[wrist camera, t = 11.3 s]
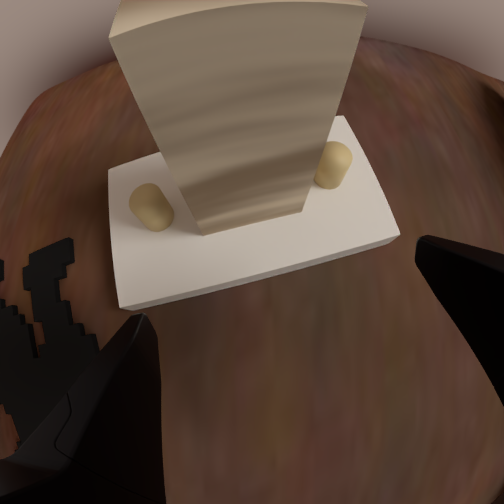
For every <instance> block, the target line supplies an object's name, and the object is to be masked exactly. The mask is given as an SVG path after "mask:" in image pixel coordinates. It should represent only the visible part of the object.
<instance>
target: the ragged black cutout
mask: <svg viewBox="0 0 504 504" xmlns="http://www.w3.org/2000/svg"><path fill="white" fill-rule="evenodd" d="M74 262H75V260H74V247H73V239H71V238H69V237H68V238H65V239H63V240H61V241H58V242H56V243H54V244H51V245H49V246H47V247H44V248H42V249H40V250H37V251H35V252H33V253H31V254H29V265H28V266H26V267H23V285H24V290H27V291H30V290H31V297H32V307H33V315H34V322H42V325H43V331H44V337H45V342H46V344H43V345H38V347H39V352H40V358H38V354H37V348H36V343H35V337H34V331H33V325H32V324H26V323H25V315H22V314H18V310H17V306H14V305H11V306H8V307H6V306H5V300H4V299H0V404H3V405H4V409H5V412H6V414H11V415H12V418H13V421H14V424H15V427H16V430H17V432H18V435H19V438H20V440H21V441H19V442H16V443H17V445H18V448H20V447H21V446H22V445H23V443H24V442H25V441H26V440H27V439H28V438H29V437H30V435H31V434H32V433H33V432H34V431H35V430H36V429H37V428H38V426H39V425H40V424H41V423H42V422H43V421H44V420H45V418H46V417H47V416H48V415H49V414H50V413H51V411H52V410H53V409H54V408H55V407H56V405H57V404H58V403H59V402H60V400H61V399H62V398H63V396H64V395H65V394H66V393H68V390H69V389H70V388H71V386H72V385H73V384H74V383H75V381H76V380H77V379H78V378H79V376H80V375H81V374H82V373H83V372H84V370H85V369H86V368H87V367H88V366H89V364H90V363H91V362H92V361H93V359H94V358H95V357H96V356H97V355H98V354H99V352H100V351H99V347H98V343H97V338H96V334H89V335H85V331H84V325H83V324H82V323H77V324H73V318H72V312H71V306H70V301H67V300H63V301H61V299H60V290H59V281H58V280H60V279H63V278H66V277H67V273H66V265H69V264H72V263H74ZM3 280H4V261H3V260H1V259H0V281H3ZM17 450H18V449H17ZM17 450H15V452H16V451H17Z"/></svg>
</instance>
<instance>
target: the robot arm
mask: <svg viewBox="0 0 504 504" xmlns="http://www.w3.org/2000/svg"><path fill="white" fill-rule="evenodd" d="M415 263H416V265H417V267H418V269H419V270H420V272H421V273H422V275H423V276H424V278H425V280H426V281H427V283H428V284H429V286H430V288H431V289H432V291H433V293H434V294H435V296H436V297H437V299H438V300H439V302H440V303H441V304H442V306H443V307H444V309H445V310H446V311H447V313H448V314H449V316H450V317H451V319H452V320H453V321H454V323H455V324H456V326H457V327H458V329H459V330H460V332H461V333H462V335H463V336H464V338H465V339H466V341H467V343H468V344H469V346H470V347H471V349H472V350H473V352H474V354H475V355H476V357H477V359H478V360H479V362H480V364H481V365H482V367H483V369H484V370H485V372H486V374H487V376H488V377H489V379H490V381H491V383H492V385H493V386H494V389H495V391H496V393H497V394H498V396H499V398H500V400H501V402H502V404H503V406H504V254H501V253H497V252H494V251H490V250H486V249H483V248H479V247H475V246H471V245H468V244H464V243H460V242H456V241H452V240H448V239H444V238H439V237H435V236H431V235H425V236H422V237H419V238H418V239H417V243H416V252H415ZM0 504H166V497H165V486H164V472H163V456H162V430H161V373H160V363H159V351H158V338H157V334H156V332H155V330H154V328H153V326H152V324H151V322H150V321H149V319H148V317H147V315H146V314H145V313H138V314H133V315H131V316H130V317H129V319H128V320H127V321H126V322H125V323H124V324H123V325H122V327H121V328H120V329H119V330H118V331H117V332H116V334H115V335H114V336H113V337H112V338H111V339H110V341H109V342H108V343H107V344H106V345H105V346H104V348H103V349H102V350H101V351H100V352H99V354H98V355H97V356H96V357H95V358H94V359H93V361H92V362H91V363H90V364H89V366H88V367H87V368H86V369H85V370H84V372H83V373H82V374H81V375H80V376H79V378H78V379H77V380H76V381H75V383H74V384H73V385H72V386H71V388H70V389H69V390H68V393H66V394H65V395H64V396H63V398H62V399H61V400H60V402H59V403H58V404H57V405H56V407H55V408H54V409H53V410H52V411H51V413H50V414H49V415H48V416H47V417H46V418H45V420H44V421H43V422H42V423H41V424H40V425H39V426H38V428H37V429H36V430H35V431H34V432H33V433H32V434H31V435H30V437H29V438H28V439H27V440H26V441H25V442H24V443H23V445H22V446H21V447H20V448H19V449H18V450H17V451H16V452H15V453H14V454H12V455H11V456H9V457H7V458H4V459H1V460H0ZM491 504H504V493H503V494H502V495H501V496H499V497H498V498H497V499H496V500H495V501H494V502H493V503H491Z"/></svg>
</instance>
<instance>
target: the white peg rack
mask: <svg viewBox="0 0 504 504" xmlns="http://www.w3.org/2000/svg"><path fill="white" fill-rule="evenodd" d="M108 194H109V218H110V234H111V246H112V256H113V265H114V274H115V281H116V288H117V295H118V302H119V308H122V309H127V310H132V311H134V310H138V309H143V308H147V307H151V306H156V305H160V304H164V303H168V302H173V301H177V300H181V299H185V298H189V297H194V296H198V295H202V294H206V293H210V292H214V291H218V290H222V289H226V288H230V287H234V286H238V285H242V284H245V283H249V282H253V281H257V280H261V279H265V278H268V277H272V276H276V275H280V274H283V273H287V272H291V271H294V270H298V269H302V268H305V267H309V266H313V265H316V264H320V263H323V262H327V261H330V260H334V259H337V258H341V257H344V256H348V255H351V254H355V253H358V252H362V251H365V250H368V249H372V248H375V247H379V246H382V245H385V244H388V243H390V242H391V241H392V240H394V239H395V238H396V237H398V236H399V235H400V232H399V229H398V227H397V224H396V222H395V219H394V217H393V214H392V212H391V209H390V207H389V205H388V202H387V200H386V198H385V196H384V193H383V191H382V189H381V187H380V184H379V182H378V180H377V178H376V176H375V174H374V172H373V170H372V168H371V166H370V164H369V162H368V160H367V158H366V156H365V154H364V152H363V150H362V148H361V146H360V144H359V142H358V141H357V139H356V137H355V135H354V133H353V131H352V130H351V128H350V126H349V124H348V123H347V121H346V119H345V118H344V116H335V118H334V121H333V124H332V127H331V130H330V133H329V136H328V139H327V142H326V145H325V148H324V151H323V153H322V156H321V159H320V162H319V165H318V168H317V171H316V173H315V176H314V179H313V182H312V185H311V188H310V190H309V193H308V196H307V199H306V201H305V204H304V207H303V210H302V212H300V213H295V214H291V215H287V216H283V217H278V218H274V219H270V220H266V221H262V222H258V223H254V224H249V225H245V226H241V227H237V228H233V229H229V230H225V231H221V232H217V233H213V234H210V235H206V236H203V234H202V232H201V230H200V229H199V227H198V225H197V223H196V221H195V219H194V217H193V215H192V213H191V211H190V209H189V207H188V206H187V204H186V202H185V200H184V198H183V196H182V194H181V192H180V190H179V188H178V186H177V184H176V182H175V180H174V178H173V176H172V174H171V172H170V170H169V168H168V166H167V164H166V162H165V160H164V158H163V156H162V154H161V152H158V153H155V154H152V155H149V156H146V157H143V158H140V159H137V160H134V161H131V162H128V163H125V164H122V165H119V166H117V167H114V168H111V169H109V170H108Z"/></svg>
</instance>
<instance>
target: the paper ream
mask: <svg viewBox="0 0 504 504" xmlns="http://www.w3.org/2000/svg"><path fill="white" fill-rule="evenodd" d="M367 10H368V6H367V5H365V4H364V3H363V2H361V1H360V0H121V2H120V5H119V8H118V10H117V13H116V16H115V19H114V22H113V25H112V29H111V31H110V35H109V41H110V43H111V46H112V48H113V50H114V52H115V55H116V57H117V59H118V62H119V64H120V66H121V69H122V71H123V73H124V75H125V77H126V80H127V82H128V84H129V86H130V89H131V91H132V93H133V95H134V97H135V99H136V102H137V104H138V106H139V108H140V110H141V112H142V114H143V117H144V119H145V121H146V123H147V125H148V127H149V129H150V131H151V133H152V135H153V138H154V140H155V142H156V144H157V146H158V148H159V150H160V152H161V154H162V156H163V158H164V160H165V162H166V164H167V166H168V168H169V170H170V172H171V174H172V176H173V178H174V180H175V182H176V184H177V186H178V188H179V190H180V192H181V194H182V196H183V198H184V200H185V202H186V204H187V206H188V207H189V209H190V211H191V213H192V215H193V217H194V219H195V221H196V223H197V225H198V227H199V229H200V230H201V232H202V234H203V236H206V235H210V234H213V233H217V232H221V231H225V230H229V229H233V228H237V227H241V226H245V225H249V224H254V223H258V222H262V221H266V220H270V219H274V218H278V217H283V216H287V215H291V214H295V213H300V212H302V210H303V207H304V204H305V201H306V199H307V196H308V193H309V190H310V188H311V185H312V182H313V179H314V176H315V173H316V171H317V168H318V165H319V162H320V159H321V156H322V153H323V151H324V148H325V145H326V142H327V139H328V136H329V133H330V130H331V127H332V124H333V121H334V118H335V115H336V112H337V109H338V106H339V103H340V100H341V96H342V93H343V90H344V87H345V84H346V81H347V78H348V74H349V71H350V68H351V65H352V61H353V58H354V55H355V52H356V48H357V45H358V41H359V38H360V35H361V31H362V27H363V24H364V20H365V17H366V14H367Z"/></svg>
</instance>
